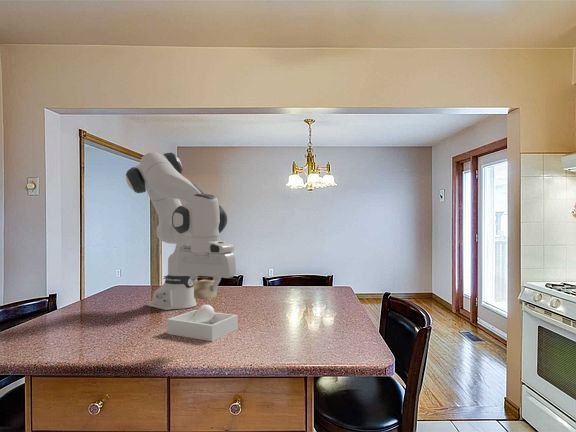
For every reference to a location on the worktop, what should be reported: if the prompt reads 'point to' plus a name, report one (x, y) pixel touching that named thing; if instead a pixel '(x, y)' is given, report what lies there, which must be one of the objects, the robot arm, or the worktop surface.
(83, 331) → the worktop surface
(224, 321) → the tote
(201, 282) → the maple cube
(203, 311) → the lightbulb
